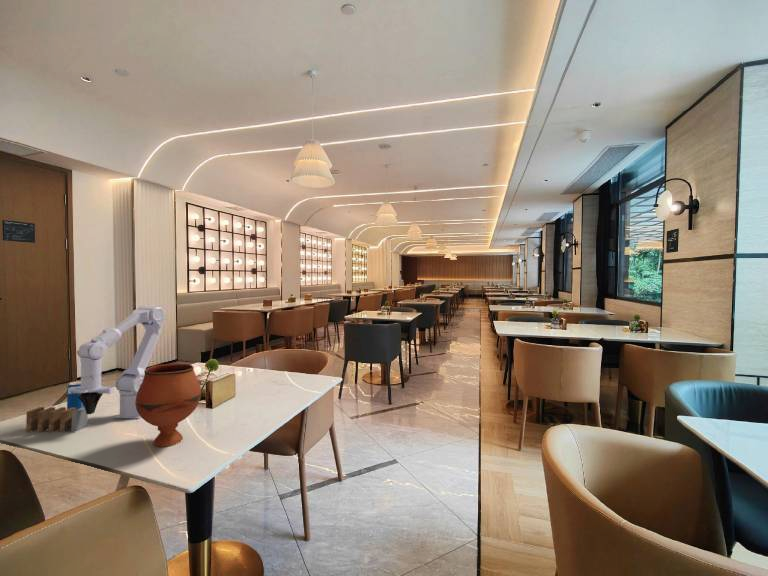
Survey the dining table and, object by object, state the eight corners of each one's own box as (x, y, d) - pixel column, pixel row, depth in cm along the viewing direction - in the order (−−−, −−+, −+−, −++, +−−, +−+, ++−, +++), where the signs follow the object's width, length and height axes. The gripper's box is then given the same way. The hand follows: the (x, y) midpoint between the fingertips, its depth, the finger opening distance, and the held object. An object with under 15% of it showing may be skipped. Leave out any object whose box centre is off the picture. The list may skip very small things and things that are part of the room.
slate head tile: (87, 426, 131) (87, 407, 131) (76, 431, 126) (76, 412, 126) (82, 426, 131) (83, 407, 131) (71, 431, 126) (71, 412, 126)
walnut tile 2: (76, 426, 131) (76, 407, 131) (64, 432, 126) (64, 412, 126) (71, 426, 131) (71, 407, 131) (59, 432, 126) (60, 412, 126)
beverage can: (75, 415, 141) (76, 385, 141) (62, 414, 142) (63, 384, 142) (92, 410, 148) (92, 381, 147) (79, 408, 149) (79, 380, 149)
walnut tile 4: (54, 426, 131) (55, 407, 131) (42, 431, 126) (42, 412, 126) (50, 426, 131) (50, 407, 131) (37, 431, 126) (37, 412, 126)
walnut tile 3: (65, 426, 131) (65, 407, 131) (53, 431, 126) (53, 412, 126) (60, 426, 131) (61, 407, 131) (48, 431, 126) (49, 412, 126)
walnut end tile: (44, 426, 131) (44, 407, 130) (31, 431, 126) (31, 412, 125) (39, 426, 130) (39, 407, 130) (26, 431, 125) (26, 412, 125)
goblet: (172, 457, 109) (173, 376, 109) (118, 451, 112) (119, 372, 112) (212, 432, 128) (213, 363, 128) (165, 427, 131) (166, 360, 131)
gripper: (60, 378, 124) (60, 417, 124) (103, 378, 125) (103, 417, 125) (77, 373, 131) (76, 410, 131) (117, 373, 132) (117, 410, 132)
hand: (90, 413), depth 129 cm, fingers closed
